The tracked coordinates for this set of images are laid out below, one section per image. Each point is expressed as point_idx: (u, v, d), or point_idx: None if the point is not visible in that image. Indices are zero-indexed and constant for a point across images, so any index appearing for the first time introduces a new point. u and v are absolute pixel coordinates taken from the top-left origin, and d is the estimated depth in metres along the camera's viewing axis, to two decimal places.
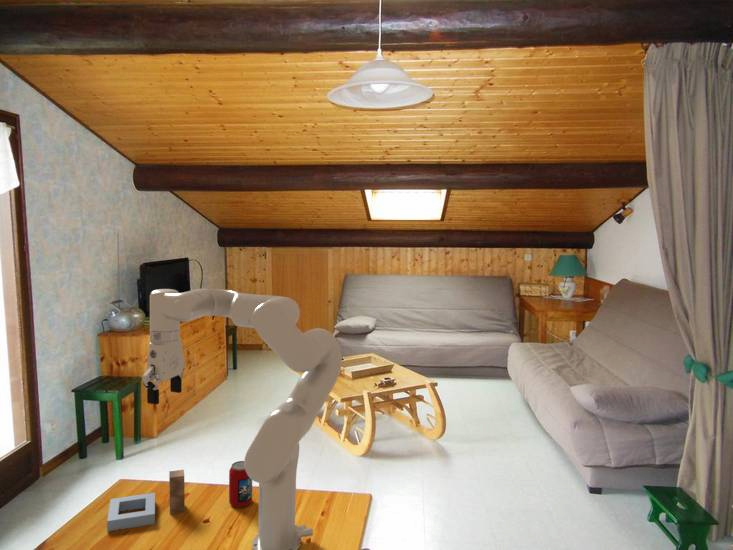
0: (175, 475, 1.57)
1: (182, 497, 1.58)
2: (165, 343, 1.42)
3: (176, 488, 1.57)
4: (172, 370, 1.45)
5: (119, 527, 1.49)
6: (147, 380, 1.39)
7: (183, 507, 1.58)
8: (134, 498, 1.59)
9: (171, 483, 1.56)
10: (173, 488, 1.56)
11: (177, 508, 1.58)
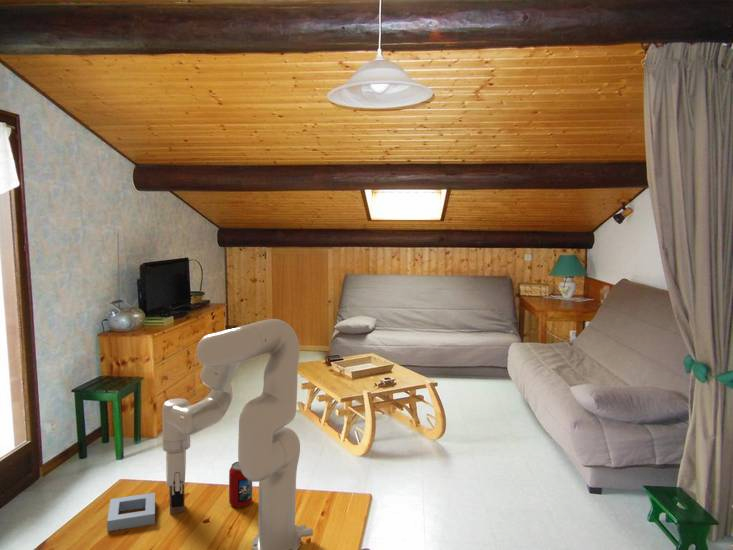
0: None
1: None
2: None
3: None
4: None
5: (119, 527, 1.49)
6: None
7: (183, 507, 1.58)
8: (134, 498, 1.59)
9: None
10: None
11: (177, 508, 1.58)
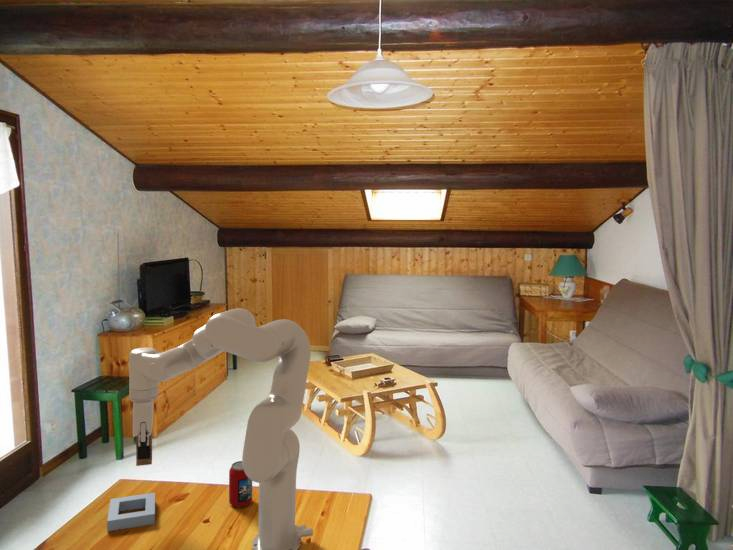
0: None
1: None
2: None
3: None
4: None
5: (119, 527, 1.49)
6: None
7: (150, 459, 1.53)
8: (134, 498, 1.59)
9: None
10: None
11: (144, 460, 1.53)
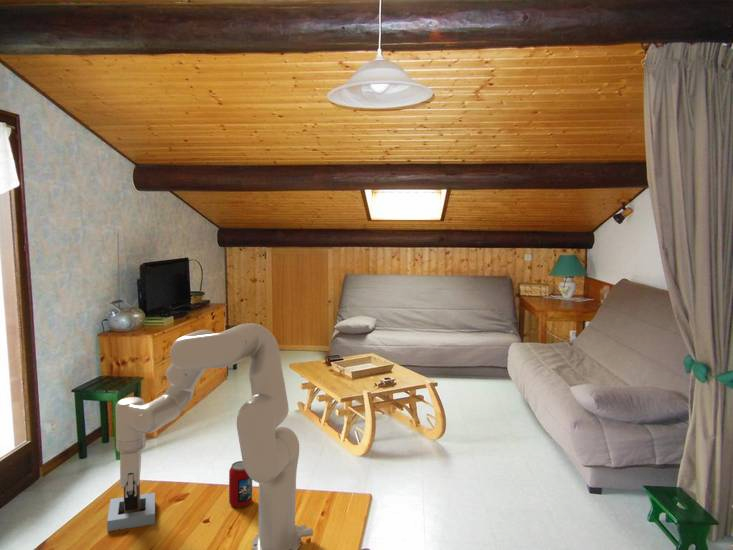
0: None
1: None
2: None
3: None
4: None
5: (119, 527, 1.49)
6: None
7: None
8: None
9: (125, 489, 1.52)
10: None
11: None
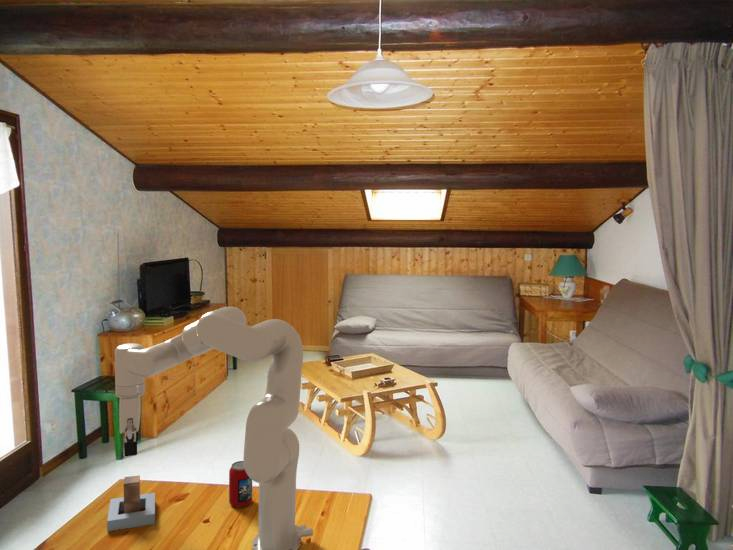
0: (129, 481, 1.53)
1: (137, 504, 1.53)
2: None
3: (130, 495, 1.52)
4: None
5: (119, 527, 1.49)
6: None
7: None
8: None
9: (125, 489, 1.52)
10: (127, 494, 1.52)
11: None
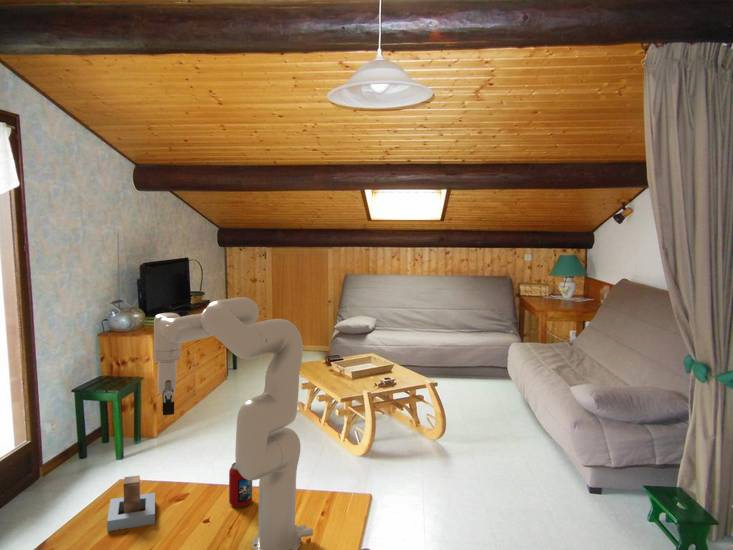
0: (129, 481, 1.53)
1: (137, 504, 1.53)
2: None
3: (130, 495, 1.52)
4: None
5: (119, 527, 1.49)
6: None
7: None
8: None
9: (125, 489, 1.52)
10: (127, 494, 1.52)
11: None
